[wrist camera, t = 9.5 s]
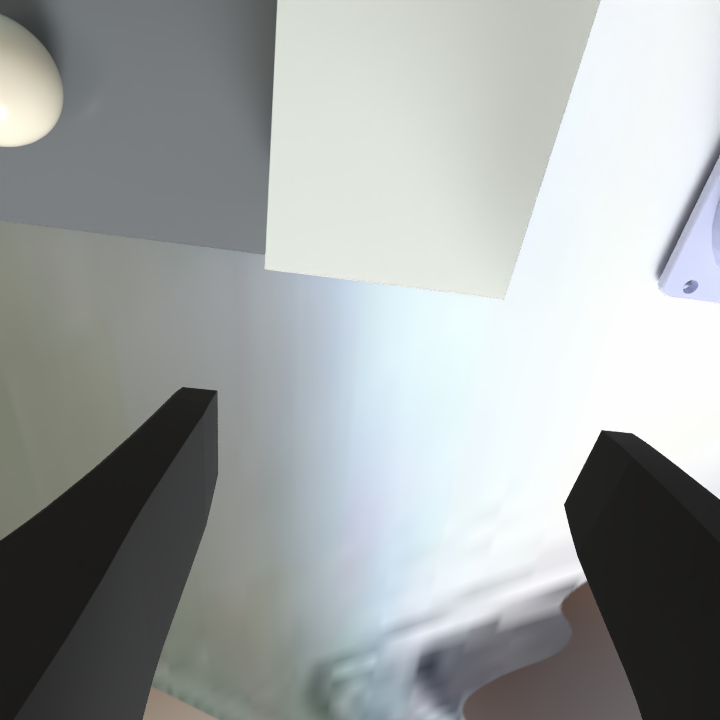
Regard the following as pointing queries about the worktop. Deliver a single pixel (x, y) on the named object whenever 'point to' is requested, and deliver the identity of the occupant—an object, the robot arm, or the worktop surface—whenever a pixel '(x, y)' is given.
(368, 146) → the white box
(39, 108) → the marble
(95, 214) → the board
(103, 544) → the robot arm
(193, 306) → the worktop surface
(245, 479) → the worktop surface
